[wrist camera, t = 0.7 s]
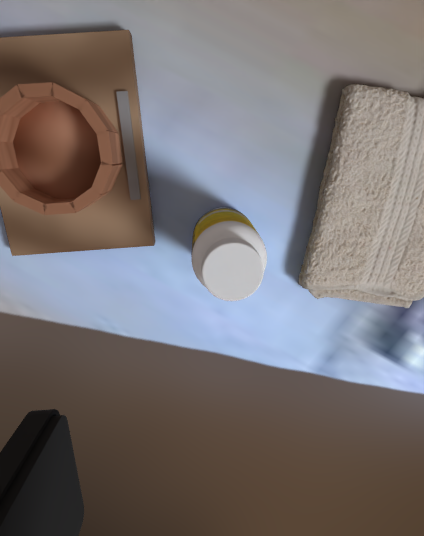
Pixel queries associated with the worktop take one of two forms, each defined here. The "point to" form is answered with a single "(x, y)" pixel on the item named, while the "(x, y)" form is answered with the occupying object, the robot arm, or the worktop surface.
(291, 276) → the worktop surface
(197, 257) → the supplement bottle
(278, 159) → the worktop surface
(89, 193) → the cup station
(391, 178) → the washcloth
